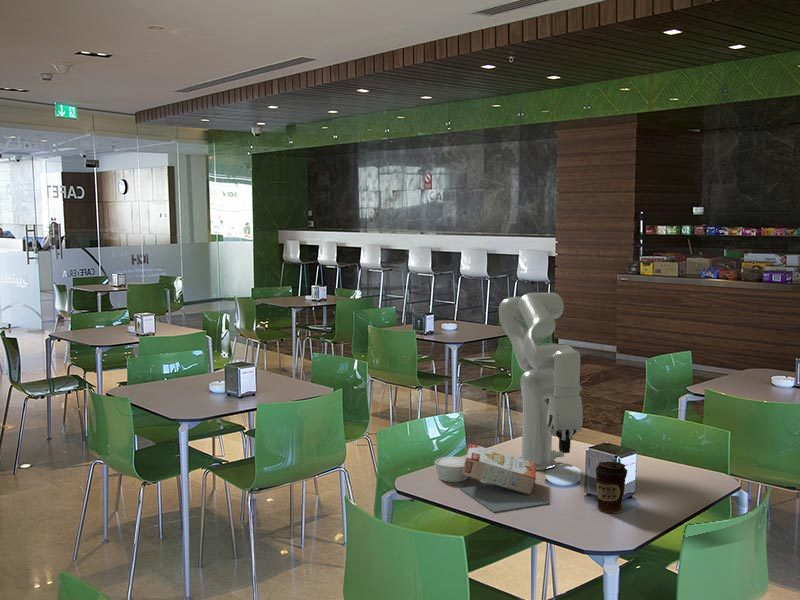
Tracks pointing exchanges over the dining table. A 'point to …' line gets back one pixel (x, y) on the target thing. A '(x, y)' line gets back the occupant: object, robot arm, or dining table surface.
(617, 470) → the coffee cup
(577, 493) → the dining table surface
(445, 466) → the ramekin
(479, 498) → the rubber mat
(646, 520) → the dining table surface
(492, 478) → the cracker box
